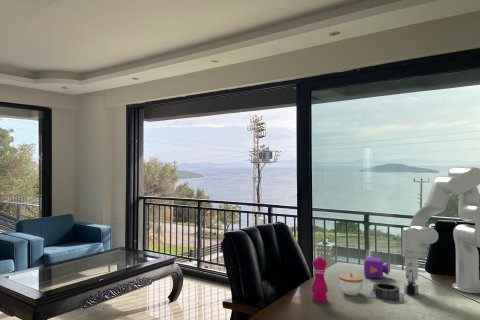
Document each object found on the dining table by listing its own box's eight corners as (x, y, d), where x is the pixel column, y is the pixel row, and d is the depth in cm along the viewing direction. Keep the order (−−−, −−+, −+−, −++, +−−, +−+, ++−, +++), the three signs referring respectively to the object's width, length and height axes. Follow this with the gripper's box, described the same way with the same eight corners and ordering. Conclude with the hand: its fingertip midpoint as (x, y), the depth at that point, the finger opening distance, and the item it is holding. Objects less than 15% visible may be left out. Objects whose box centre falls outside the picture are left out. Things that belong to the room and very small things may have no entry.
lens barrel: (403, 294, 165) (403, 285, 166) (402, 303, 155) (401, 293, 155) (372, 289, 172) (372, 280, 172) (368, 297, 162) (368, 287, 162)
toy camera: (392, 280, 187) (392, 261, 187) (365, 278, 190) (364, 260, 190) (387, 274, 198) (387, 256, 198) (362, 273, 200) (362, 255, 201)
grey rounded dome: (418, 292, 169) (418, 283, 169) (418, 296, 163) (418, 287, 164) (404, 290, 172) (404, 281, 172) (403, 294, 166) (403, 285, 166)
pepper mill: (328, 297, 161) (328, 253, 162) (327, 302, 155) (326, 256, 155) (312, 295, 164) (312, 252, 164) (310, 300, 157) (310, 255, 157)
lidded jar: (364, 291, 170) (364, 271, 170) (361, 298, 160) (361, 277, 160) (341, 288, 174) (341, 269, 174) (337, 295, 164) (337, 274, 165)
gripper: (419, 258, 159) (419, 299, 158) (420, 250, 174) (420, 287, 173) (401, 256, 162) (401, 296, 162) (403, 249, 177) (403, 285, 177)
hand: (411, 291), depth 168 cm, fingers closed on grey rounded dome, 5 cm apart
